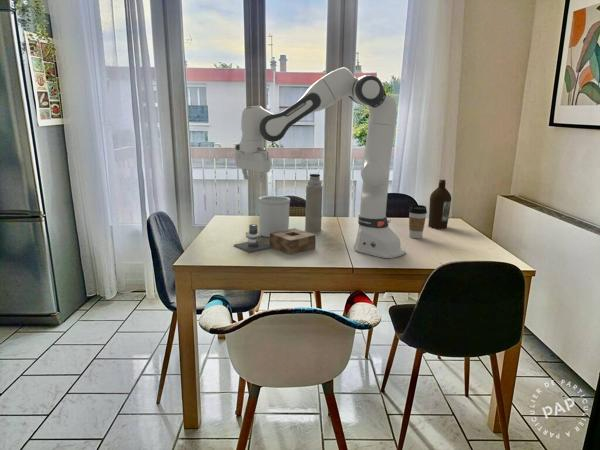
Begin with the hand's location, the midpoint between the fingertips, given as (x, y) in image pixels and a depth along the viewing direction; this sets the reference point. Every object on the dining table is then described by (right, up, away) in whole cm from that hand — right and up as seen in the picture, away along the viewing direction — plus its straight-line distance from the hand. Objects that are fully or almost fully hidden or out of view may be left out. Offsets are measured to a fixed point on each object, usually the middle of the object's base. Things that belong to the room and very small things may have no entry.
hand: (252, 180), depth 179 cm
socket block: (+16, -28, +7) cm, 33 cm away
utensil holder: (+7, -23, +28) cm, 37 cm away
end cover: (-1, -27, +7) cm, 28 cm away
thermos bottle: (+26, -21, +36) cm, 50 cm away
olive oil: (+92, -20, +48) cm, 106 cm away
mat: (-1, -28, +7) cm, 29 cm away
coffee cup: (+75, -24, +28) cm, 84 cm away
